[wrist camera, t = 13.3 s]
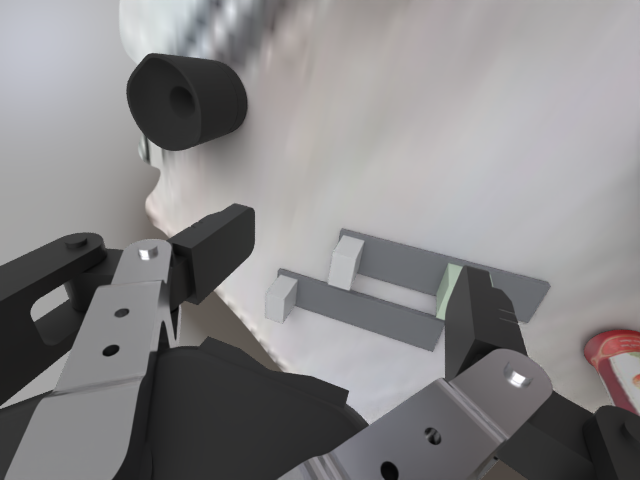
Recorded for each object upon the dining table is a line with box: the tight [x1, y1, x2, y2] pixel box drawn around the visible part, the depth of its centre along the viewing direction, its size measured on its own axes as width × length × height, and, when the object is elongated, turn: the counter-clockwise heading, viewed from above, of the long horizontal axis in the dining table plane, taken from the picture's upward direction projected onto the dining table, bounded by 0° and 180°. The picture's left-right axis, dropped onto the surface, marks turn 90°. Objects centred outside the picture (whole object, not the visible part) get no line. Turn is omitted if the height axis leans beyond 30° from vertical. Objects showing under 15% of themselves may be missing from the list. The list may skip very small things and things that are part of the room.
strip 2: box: [328, 229, 551, 323], centre depth 40 cm, size 26×6×6 cm, turn 83°
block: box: [436, 263, 493, 320], centre depth 38 cm, size 5×5×5 cm
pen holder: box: [126, 53, 247, 151], centre depth 37 cm, size 9×9×10 cm
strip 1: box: [265, 269, 445, 352], centre depth 47 cm, size 26×6×6 cm, turn 83°
